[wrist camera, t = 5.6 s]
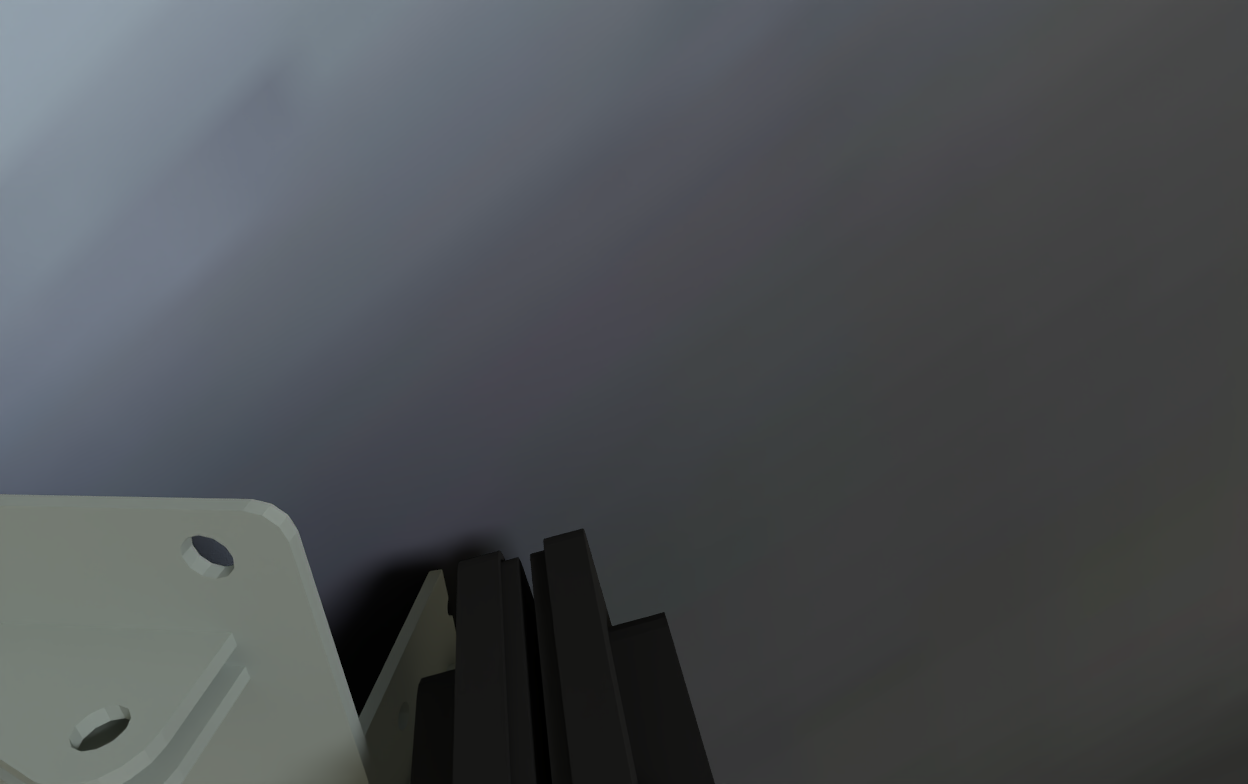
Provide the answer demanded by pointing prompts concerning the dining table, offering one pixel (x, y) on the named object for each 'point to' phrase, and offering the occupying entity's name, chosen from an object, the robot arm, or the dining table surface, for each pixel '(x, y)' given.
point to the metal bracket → (189, 651)
